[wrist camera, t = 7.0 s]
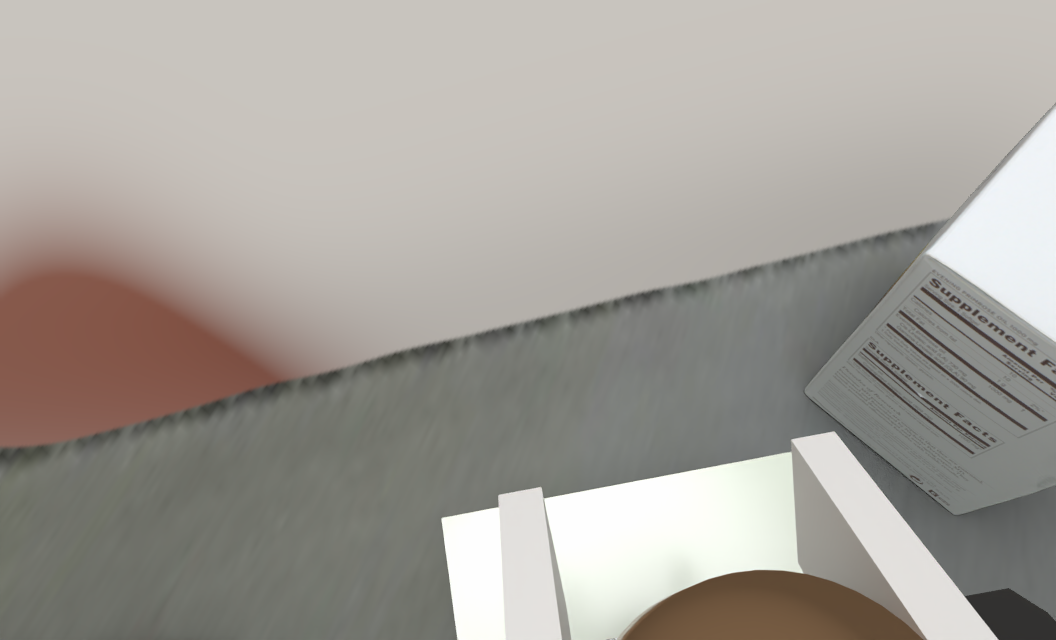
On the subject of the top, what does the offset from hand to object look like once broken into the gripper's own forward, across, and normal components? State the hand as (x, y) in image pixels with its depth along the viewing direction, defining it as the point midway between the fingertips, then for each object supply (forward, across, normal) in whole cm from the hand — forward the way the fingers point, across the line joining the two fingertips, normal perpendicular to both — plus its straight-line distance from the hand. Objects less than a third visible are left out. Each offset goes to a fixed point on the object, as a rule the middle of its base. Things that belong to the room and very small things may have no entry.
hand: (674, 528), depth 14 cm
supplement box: (+23, +17, -14) cm, 32 cm away
